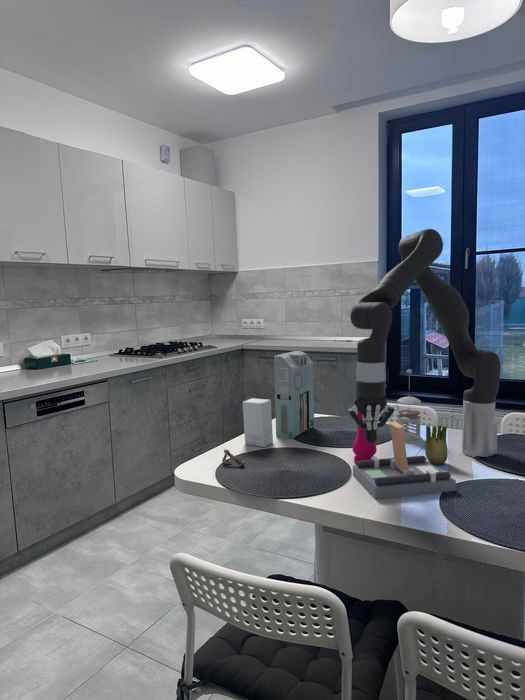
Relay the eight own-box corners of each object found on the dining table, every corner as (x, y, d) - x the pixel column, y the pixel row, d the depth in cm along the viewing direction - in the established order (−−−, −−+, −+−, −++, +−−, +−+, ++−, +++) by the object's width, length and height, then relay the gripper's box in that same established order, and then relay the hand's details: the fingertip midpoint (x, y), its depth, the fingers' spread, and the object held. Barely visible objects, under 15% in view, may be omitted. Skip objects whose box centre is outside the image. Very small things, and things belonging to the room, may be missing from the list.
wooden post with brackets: (222, 458, 147) (226, 446, 145) (241, 472, 143) (245, 461, 142) (218, 460, 145) (222, 448, 144) (237, 474, 142) (242, 462, 140)
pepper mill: (377, 467, 138) (377, 401, 136) (352, 466, 140) (352, 401, 138) (376, 459, 145) (376, 396, 143) (352, 458, 147) (352, 396, 145)
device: (293, 439, 168) (292, 356, 165) (275, 436, 172) (274, 355, 169) (314, 427, 182) (313, 351, 178) (297, 425, 186) (295, 350, 182)
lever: (400, 466, 129) (394, 421, 128) (410, 474, 123) (404, 427, 122) (394, 467, 129) (388, 422, 127) (404, 476, 123) (398, 428, 121)
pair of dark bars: (423, 460, 135) (423, 452, 135) (452, 480, 120) (453, 471, 120) (355, 465, 132) (355, 458, 132) (376, 487, 117) (376, 478, 117)
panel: (424, 469, 136) (424, 452, 136) (455, 491, 120) (456, 472, 120) (352, 475, 133) (352, 458, 132) (375, 499, 117) (375, 479, 116)
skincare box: (273, 442, 164) (272, 399, 162) (263, 448, 159) (262, 403, 157) (253, 439, 169) (252, 397, 167) (243, 444, 163) (242, 401, 161)
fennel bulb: (423, 463, 141) (424, 424, 140) (430, 458, 145) (431, 421, 143) (442, 467, 137) (443, 428, 136) (449, 463, 141) (450, 424, 140)
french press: (427, 443, 160) (428, 371, 157) (393, 443, 160) (394, 372, 157) (418, 434, 170) (419, 367, 167) (386, 435, 170) (386, 367, 167)
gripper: (388, 375, 127) (387, 436, 129) (341, 377, 125) (342, 440, 127) (400, 379, 119) (400, 445, 121) (351, 382, 117) (351, 448, 119)
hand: (370, 442), depth 124 cm, fingers closed
